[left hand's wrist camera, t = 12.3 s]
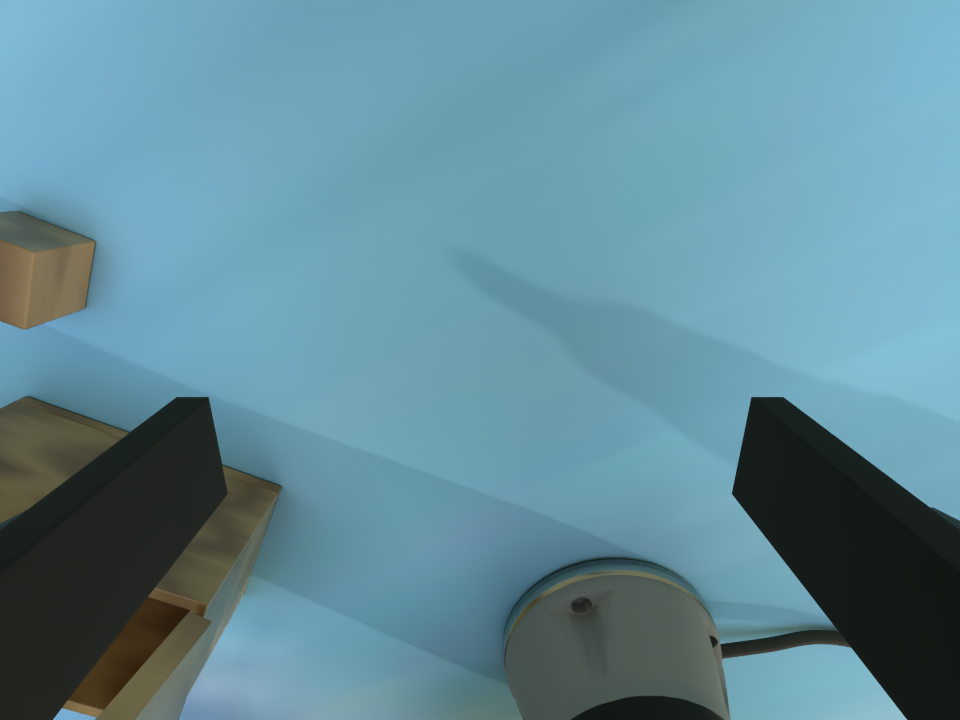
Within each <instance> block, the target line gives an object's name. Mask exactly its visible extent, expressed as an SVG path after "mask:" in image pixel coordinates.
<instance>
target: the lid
mask: <svg viewBox="0 0 960 720" xmlns="http://www.w3.org/2000/svg"><path fill="white" fill-rule="evenodd" d="M211 623H212V622H211V621H210V620H208V619H206V618H203V617H201V616H199V615H197V614H195V613H192V612H188V613H187V615H186V616H185V617H184V618H183V619H182V620H181V622H180V623H179V624H178V625H177V626H176V627H175V628H174V630H173V631H172V632H171V633H170V634H169V635H168V637H167V638H166V639H165V640H164V641H163V642H162V643H161V645H160V646H159V647H158V648H157V649H156V650H155V652H154V653H153V654H152V655H151V656H150V657H149V658H148V660H147V661H146V662H145V663H144V664H143V665H142V666H141V668H140V669H139V670H138V671H137V672H136V673H135V675H134V676H133V677H132V678H131V679H130V680H129V681H128V683H127V684H126V685H125V686H124V687H123V688H122V690H121V691H120V692H119V693H118V694H117V695H116V696H115V698H114V699H113V700H112V701H111V702H110V703H109V705H108V706H107V707H106V708H105V709H104V710H103V711H102V713H101V714H100V715H99V716H98V717H97V718H96V720H179V718H180V715H181V712H182V709H183V706H184V703H185V700H186V697H187V694H188V691H189V688H190V685H191V682H192V679H193V676H194V673H195V670H196V667H197V664H198V662H199V659H200V656H201V653H202V650H203V647H204V644H205V641H206V638H207V635H208V632H209V629H210V626H211Z"/></svg>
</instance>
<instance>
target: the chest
mask: <svg viewBox="0 0 960 720" xmlns="http://www.w3.org/2000/svg"><path fill="white" fill-rule="evenodd" d="M127 434H129V432H126V431H123V430H120V429H117V428H115V427H112V426H109V425H106V424H103V423H100V422H98V421H95V420H92V419H89V418H86V417H84V416H81V415H78V414H75V413H72V412H69V411H67V410H64V409H61V408H58V407H55V406H52V405H50V404H47V403H44V402H41V401H38V400H35V399H33V398H30V397H27V396H25V397H23V398H21V399H19V400H17V401H15V402H13V403H11V404H9V405H7V406H5V407H3V408H1V409H0V523H2V522H4V521H6V520H8V519H10V518H11V517H13V516H15V515H17V514H19V513H21V512H23V511H25V510H28V509H29V508H30V507H32V506H33V505H34V504H36V503H37V502H38V501H40V500H41V499H42V498H44V497H45V496H46V495H48V494H49V493H50V492H51V491H53V490H54V489H55V488H57V487H58V486H59V485H61V484H62V483H63V482H65V481H66V480H67V479H69V478H70V477H71V476H73V475H74V474H75V473H77V472H78V471H79V470H81V469H82V468H83V467H85V466H86V465H87V464H89V463H90V462H91V461H93V460H94V459H95V458H97V457H98V456H99V455H101V454H102V453H103V452H105V451H106V450H107V449H109V448H110V447H111V446H113V445H114V444H115V443H117V442H118V441H119V440H121V439H122V438H123V437H125V436H126V435H127ZM223 471H224V476H225V481H226V486H227V491H228V494H227V496H226V497H225V498H224V500H223V501H222V502H221V503H220V505H219V506H218V507H217V509H216V510H215V511H214V512H213V514H212V515H211V516H210V518H209V519H208V520H207V522H206V523H205V524H204V525H203V527H202V528H201V529H200V531H199V532H198V533H197V534H196V536H195V537H194V538H193V540H192V541H191V542H190V543H189V545H188V546H187V547H186V549H185V550H184V551H183V552H182V554H181V555H180V556H179V558H178V559H177V560H176V561H175V563H174V564H173V565H172V567H171V568H170V569H169V570H168V572H167V573H166V574H165V576H164V577H163V578H162V579H161V581H160V582H159V583H158V585H157V586H156V587H155V589H154V590H153V591H152V592H151V594H150V595H149V596H148V598H147V599H146V600H145V601H144V603H143V604H142V605H141V607H140V608H139V609H138V610H137V612H136V613H135V614H134V616H133V617H132V618H131V619H130V621H129V622H128V623H127V625H126V626H125V627H124V628H123V630H122V631H121V632H120V634H119V635H118V636H117V637H116V639H115V640H114V641H113V643H112V644H111V645H110V646H109V648H108V649H107V650H106V652H105V653H104V654H103V656H102V657H101V658H100V659H99V661H98V662H97V663H96V665H95V666H94V667H93V668H92V670H91V671H90V672H89V674H88V675H87V676H86V677H85V679H84V680H83V681H82V683H81V684H80V685H79V686H78V688H77V689H76V690H75V692H74V693H73V694H72V695H71V697H70V698H69V699H68V701H67V702H66V703H65V704H64V706H63V707H62V708H64V709H68V710H71V711H75V712H79V713H82V714H86V715H90V716H93V717H98V716H99V715H100V714H101V713H102V711H103V710H104V709H105V708H106V707H107V706H108V705H109V703H110V702H111V701H112V700H113V699H114V698H115V696H116V695H117V694H118V693H119V692H120V691H121V690H122V688H123V687H124V686H125V685H126V684H127V683H128V681H129V680H130V679H131V678H132V677H133V676H134V675H135V673H136V672H137V671H138V670H139V669H140V668H141V666H142V665H143V664H144V663H145V662H146V661H147V660H148V658H149V657H150V656H151V655H152V654H153V653H154V652H155V650H156V649H157V648H158V647H159V646H160V645H161V643H162V642H163V641H164V640H165V639H166V638H167V637H168V635H169V634H170V633H171V632H172V631H173V630H174V628H175V627H176V626H177V625H178V624H179V623H180V622H181V620H182V619H183V618H184V617H185V616H186V615H187V613H188V612H192V613H195V614H197V615H199V616H201V617H203V618H206V619H208V620H210V621H211V622H212V623H211V626H210V629H209V632H208V635H207V638H206V641H205V644H204V647H203V650H202V653H201V656H200V659H199V662H198V664H197V667H196V670H195V673H194V676H193V679H192V682H191V685H190V688H189V691H188V694H189V692H190V690H191V688H192V687H193V685H194V683H195V681H196V679H197V678H198V676H199V674H200V672H201V670H202V669H203V667H204V665H205V663H206V661H207V660H208V658H209V656H210V654H211V652H212V651H213V649H214V647H215V645H216V643H217V642H218V640H219V638H220V636H221V634H222V633H223V631H224V629H225V627H226V626H227V624H228V622H229V620H230V618H231V617H232V615H233V613H234V611H235V609H236V608H237V606H238V604H239V602H240V600H241V599H242V597H243V594H244V591H245V589H246V586H247V583H248V580H249V577H250V575H251V572H252V569H253V566H254V563H255V561H256V558H257V555H258V552H259V549H260V547H261V544H262V541H263V538H264V535H265V533H266V530H267V527H268V524H269V521H270V519H271V516H272V513H273V510H274V507H275V505H276V502H277V499H278V496H279V493H280V490H281V486H279V485H276V484H273V483H270V482H267V481H264V480H262V479H259V478H256V477H253V476H250V475H248V474H245V473H242V472H239V471H236V470H233V469H231V468H228V467H225V466H223ZM188 694H187V695H188Z"/></svg>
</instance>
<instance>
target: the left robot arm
mask: <svg viewBox="0 0 960 720" xmlns="http://www.w3.org/2000/svg"><path fill="white" fill-rule="evenodd" d="M227 494H228V491H227V486H226V481H225V476H224V471H223V466H222V462H221V457H220V452H219V447H218V442H217V437H216V432H215V427H214V422H213V417H212V412H211V407H210V402H209V397H176V398H175V399H174V400H172V401H171V402H170V403H168V404H167V405H166V406H164V407H163V408H162V409H160V410H159V411H158V412H157V413H155V414H154V415H153V416H151V417H150V418H149V419H147V420H146V421H145V422H143V423H142V424H141V425H139V426H138V427H137V428H135V429H134V430H133V431H131V432H130V433H129V434H127V435H126V436H125V437H123V438H122V439H121V440H119V441H118V442H117V443H115V444H114V445H113V446H111V447H110V448H109V449H107V450H106V451H105V452H103V453H102V454H101V455H99V456H98V457H97V458H95V459H94V460H93V461H91V462H90V463H89V464H87V465H86V466H85V467H83V468H82V469H81V470H79V471H78V472H77V473H75V474H74V475H73V476H71V477H70V478H69V479H67V480H66V481H65V482H63V483H62V484H61V485H59V486H58V487H57V488H55V489H54V490H53V491H51V492H50V493H49V494H48V495H46V496H45V497H44V498H42V499H41V500H40V501H38V502H37V503H36V504H34V505H33V506H32V507H30V508H29V509H28V510H25V511H23V512H21V513H19V514H17V515H15V516H13V517H11V518H10V519H8V520H6V521H4V522H2V523H0V720H53V719H54V717H55V716H56V715H57V713H58V712H59V711H60V710H61V708H62V707H63V706H64V704H65V703H66V702H67V701H68V699H69V698H70V697H71V695H72V694H73V693H74V692H75V690H76V689H77V688H78V686H79V685H80V684H81V683H82V681H83V680H84V679H85V677H86V676H87V675H88V674H89V672H90V671H91V670H92V668H93V667H94V666H95V665H96V663H97V662H98V661H99V659H100V658H101V657H102V656H103V654H104V653H105V652H106V650H107V649H108V648H109V646H110V645H111V644H112V643H113V641H114V640H115V639H116V637H117V636H118V635H119V634H120V632H121V631H122V630H123V628H124V627H125V626H126V625H127V623H128V622H129V621H130V619H131V618H132V617H133V616H134V614H135V613H136V612H137V610H138V609H139V608H140V607H141V605H142V604H143V603H144V601H145V600H146V599H147V598H148V596H149V595H150V594H151V592H152V591H153V590H154V589H155V587H156V586H157V585H158V583H159V582H160V581H161V579H162V578H163V577H164V576H165V574H166V573H167V572H168V570H169V569H170V568H171V567H172V565H173V564H174V563H175V561H176V560H177V559H178V558H179V556H180V555H181V554H182V552H183V551H184V550H185V549H186V547H187V546H188V545H189V543H190V542H191V541H192V540H193V538H194V537H195V536H196V534H197V533H198V532H199V531H200V529H201V528H202V527H203V525H204V524H205V523H206V522H207V520H208V519H209V518H210V516H211V515H212V514H213V512H214V511H215V510H216V509H217V507H218V506H219V505H220V503H221V502H222V501H223V500H224V498H225V497H226V496H227ZM732 494H733V496H734V497H735V498H736V500H737V501H738V502H739V503H740V505H741V506H742V507H743V509H744V510H745V511H746V512H747V514H748V515H749V516H750V518H751V519H752V520H753V522H754V523H755V524H756V525H757V527H758V528H759V529H760V531H761V532H762V533H763V534H764V536H765V537H766V538H767V540H768V541H769V542H770V543H771V545H772V546H773V547H774V549H775V550H776V551H777V552H778V554H779V555H780V556H781V558H782V559H783V560H784V561H785V563H786V564H787V565H788V567H789V568H790V569H791V570H792V572H793V573H794V574H795V576H796V577H797V578H798V579H799V581H800V582H801V583H802V585H803V586H804V587H805V589H806V590H807V591H808V592H809V594H810V595H811V596H812V598H813V599H814V600H815V601H816V603H817V604H818V605H819V607H820V608H821V609H822V610H823V612H824V613H825V614H826V616H827V617H828V618H829V619H830V621H831V622H832V623H833V625H834V626H835V627H836V628H837V630H838V631H839V632H840V634H841V635H842V636H843V637H844V639H845V640H846V641H847V643H848V644H849V645H850V646H851V648H852V649H853V650H854V652H855V653H856V654H857V656H858V657H859V658H860V659H861V661H862V662H863V663H864V665H865V666H866V667H867V668H868V670H869V671H870V672H871V674H872V675H873V676H874V677H875V679H876V680H877V681H878V683H879V684H880V685H881V686H882V688H883V689H884V690H885V692H886V693H887V694H888V695H889V697H890V698H891V699H892V701H893V702H894V703H895V704H896V706H897V707H898V708H899V710H900V711H901V712H902V713H903V715H904V716H905V717H906V719H907V720H960V521H959V520H957V519H955V518H953V517H951V516H949V515H947V514H945V513H943V512H941V511H939V510H937V509H935V508H930V507H928V506H927V505H926V504H924V503H923V502H922V501H920V500H919V499H918V498H916V497H915V496H914V495H912V494H911V493H910V492H908V491H907V490H906V489H905V488H903V487H902V486H901V485H899V484H898V483H897V482H895V481H894V480H893V479H891V478H890V477H889V476H887V475H886V474H885V473H883V472H882V471H881V470H879V469H878V468H877V467H875V466H874V465H873V464H871V463H870V462H869V461H867V460H866V459H865V458H863V457H862V456H861V455H859V454H858V453H857V452H855V451H854V450H853V449H851V448H850V447H849V446H847V445H846V444H845V443H843V442H842V441H841V440H839V439H838V438H837V437H835V436H834V435H833V434H831V433H830V432H829V431H827V430H826V429H825V428H823V427H822V426H821V425H819V424H818V423H817V422H815V421H814V420H813V419H811V418H810V417H809V416H807V415H806V414H805V413H803V412H802V411H801V410H800V409H798V408H797V407H796V406H794V405H793V404H792V403H790V402H789V401H788V400H786V399H785V398H784V397H751V402H750V407H749V412H748V417H747V422H746V427H745V432H744V437H743V442H742V447H741V452H740V457H739V462H738V466H737V471H736V476H735V481H734V486H733V491H732Z"/></svg>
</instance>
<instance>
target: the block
mask: <svg viewBox="0 0 960 720" xmlns="http://www.w3.org/2000/svg"><path fill="white" fill-rule="evenodd" d="M94 247H95V241H93V240H91V239H88V238H85V237H83V236H80V235H78V234H75V233H72V232H70V231H67V230H65V229H62V228H59V227H57V226H54V225H52V224H49V223H47V222H44V221H41V220H39V219H36V218H34V217H31V216H28V215H26V214H23V213H21V212H18V211H12V212H0V321H2V322H4V323H7V324H10V325H13V326H16V327H18V328H21V329H29V328H32V327H34V326H37V325H40V324H43V323H46V322H49V321H52V320H54V319H57V318H60V317H63V316H66V315H69V314H72V313H74V312H77V311H80V310H83V309H84V308H85V304H86V298H87V292H88V285H89V279H90V273H91V266H92V260H93V254H94Z"/></svg>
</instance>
